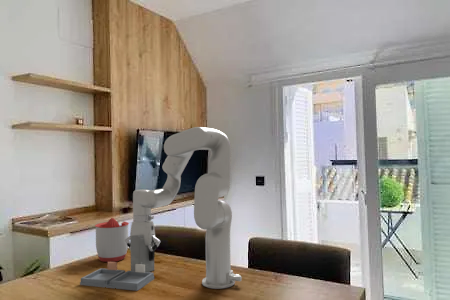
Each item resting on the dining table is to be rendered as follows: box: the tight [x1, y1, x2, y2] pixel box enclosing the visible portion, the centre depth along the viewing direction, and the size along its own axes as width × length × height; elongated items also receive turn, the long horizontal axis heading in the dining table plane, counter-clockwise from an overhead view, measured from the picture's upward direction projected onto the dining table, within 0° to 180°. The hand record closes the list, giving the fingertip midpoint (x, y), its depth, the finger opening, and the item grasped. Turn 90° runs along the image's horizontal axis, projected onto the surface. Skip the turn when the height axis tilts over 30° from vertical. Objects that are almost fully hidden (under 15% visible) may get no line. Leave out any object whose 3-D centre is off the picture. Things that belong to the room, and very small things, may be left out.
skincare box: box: [129, 235, 155, 273], centre depth 151 cm, size 8×7×16 cm
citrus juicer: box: [94, 217, 130, 263], centre depth 171 cm, size 16×17×20 cm
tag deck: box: [79, 261, 155, 291], centre depth 139 cm, size 25×13×6 cm, turn 74°
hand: (142, 259), depth 151 cm, fingers closed on skincare box, 8 cm apart
